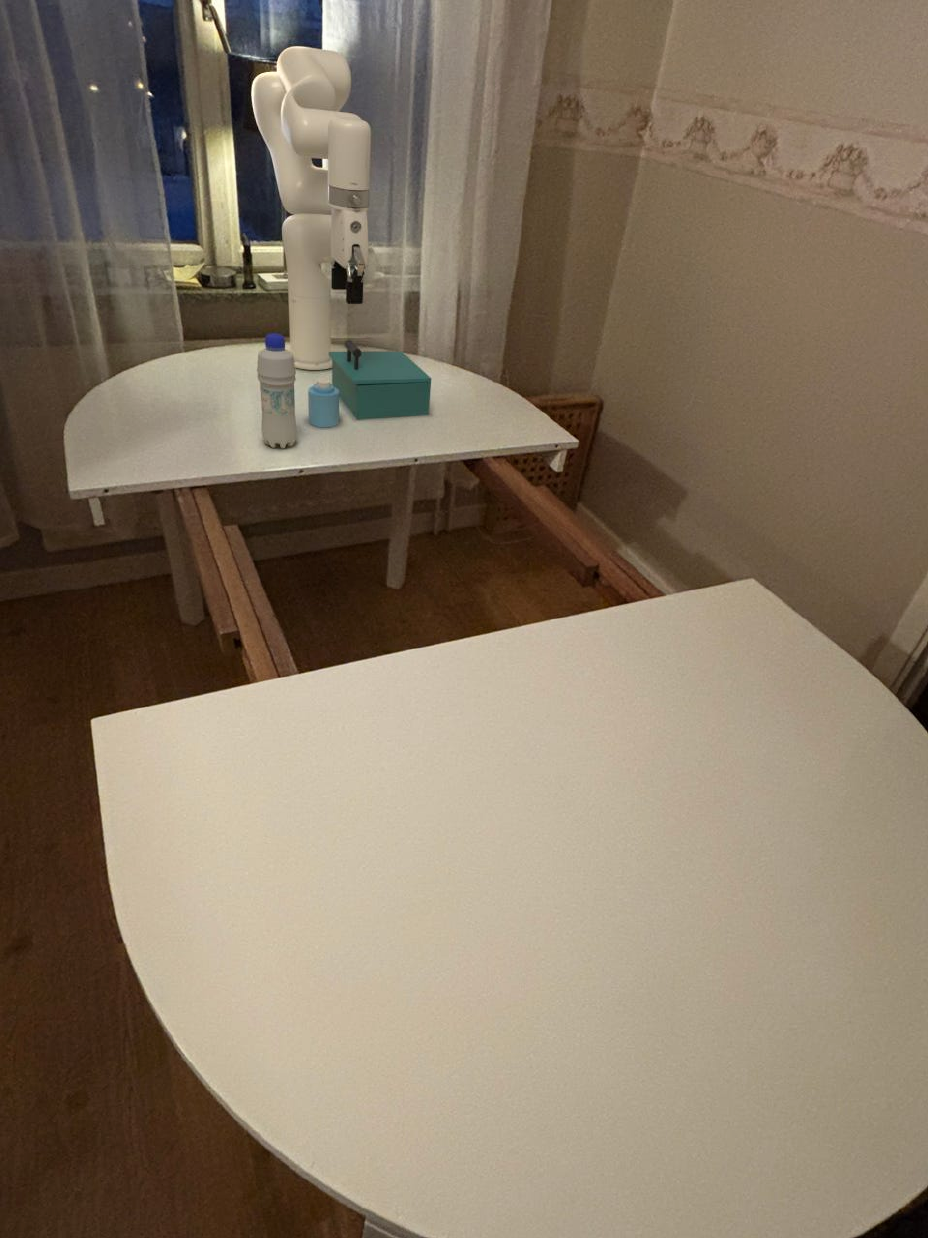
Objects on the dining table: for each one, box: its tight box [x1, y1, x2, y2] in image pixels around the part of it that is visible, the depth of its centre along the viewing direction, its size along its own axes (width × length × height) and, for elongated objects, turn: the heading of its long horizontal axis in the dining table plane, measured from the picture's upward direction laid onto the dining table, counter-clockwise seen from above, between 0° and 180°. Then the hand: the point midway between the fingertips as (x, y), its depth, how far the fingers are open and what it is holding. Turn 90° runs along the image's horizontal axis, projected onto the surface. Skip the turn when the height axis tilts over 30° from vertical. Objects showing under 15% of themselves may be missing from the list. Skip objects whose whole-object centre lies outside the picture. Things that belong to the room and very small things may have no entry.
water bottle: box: [307, 378, 340, 428], centre depth 147 cm, size 6×6×8 cm
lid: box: [329, 339, 432, 384], centre depth 156 cm, size 17×18×5 cm
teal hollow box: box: [331, 360, 432, 420], centre depth 159 cm, size 16×18×7 cm
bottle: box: [256, 332, 297, 449], centre depth 133 cm, size 7×7×20 cm
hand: (346, 296), depth 146 cm, fingers open, 9 cm apart
